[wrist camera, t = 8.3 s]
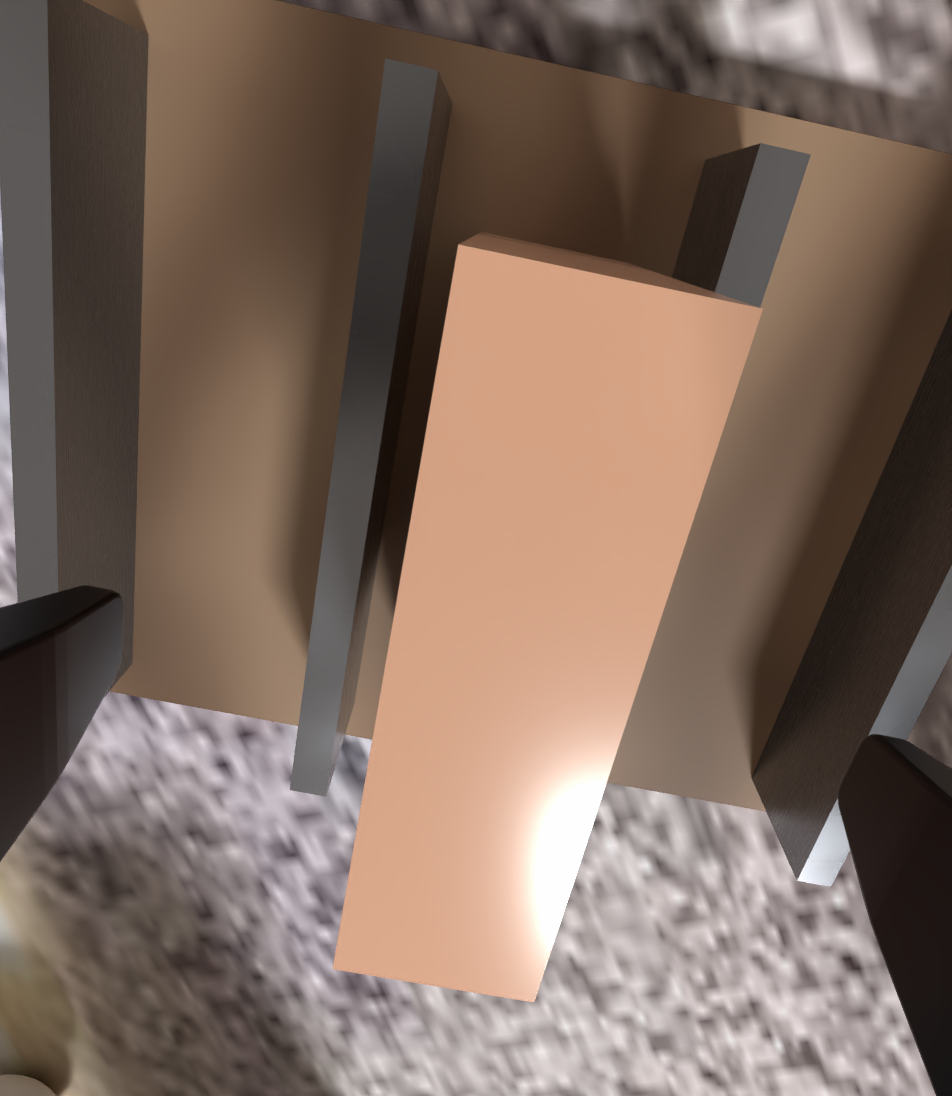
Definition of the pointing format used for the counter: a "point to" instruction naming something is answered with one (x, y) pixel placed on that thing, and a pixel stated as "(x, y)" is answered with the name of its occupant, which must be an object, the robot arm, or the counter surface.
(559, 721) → the peach rectangular block
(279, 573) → the rack base
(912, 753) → the robot arm
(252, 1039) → the counter surface
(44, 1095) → the white rounded lump
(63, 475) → the rack dividers
